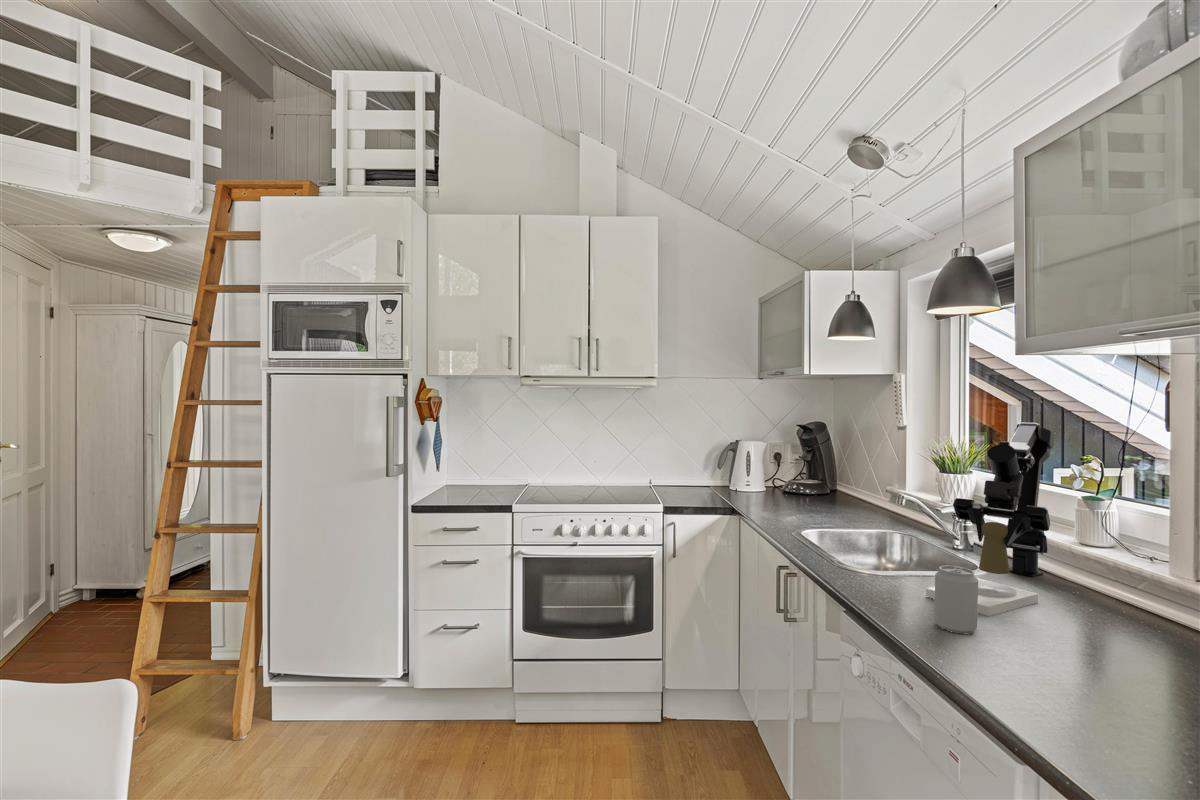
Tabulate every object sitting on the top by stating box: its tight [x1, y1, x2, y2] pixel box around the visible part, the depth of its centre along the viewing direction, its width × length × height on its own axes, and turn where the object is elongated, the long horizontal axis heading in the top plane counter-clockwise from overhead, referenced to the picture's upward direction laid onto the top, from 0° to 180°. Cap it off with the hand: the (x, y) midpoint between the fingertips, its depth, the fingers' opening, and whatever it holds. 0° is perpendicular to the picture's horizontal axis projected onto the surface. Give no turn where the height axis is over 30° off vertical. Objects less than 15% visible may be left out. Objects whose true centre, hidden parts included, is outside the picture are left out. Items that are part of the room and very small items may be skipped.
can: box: [933, 565, 978, 634], centre depth 125 cm, size 8×8×12 cm
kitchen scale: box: [925, 577, 1039, 617], centre depth 143 cm, size 20×14×3 cm
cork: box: [978, 521, 1011, 575], centre depth 143 cm, size 6×6×11 cm
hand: (992, 542), depth 142 cm, fingers closed on cork, 5 cm apart
